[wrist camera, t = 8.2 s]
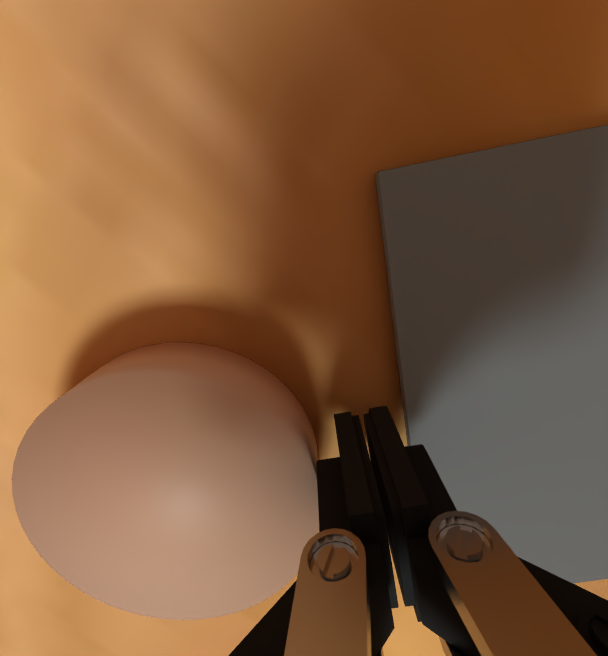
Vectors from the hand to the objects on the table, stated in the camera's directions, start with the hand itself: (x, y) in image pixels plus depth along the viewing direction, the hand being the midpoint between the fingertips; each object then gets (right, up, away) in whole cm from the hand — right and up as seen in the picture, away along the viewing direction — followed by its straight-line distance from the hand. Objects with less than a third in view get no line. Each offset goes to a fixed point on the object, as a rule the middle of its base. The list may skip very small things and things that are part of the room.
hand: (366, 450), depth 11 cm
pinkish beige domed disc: (-6, -1, +2) cm, 6 cm away
